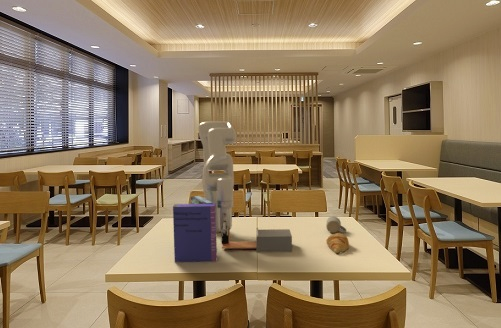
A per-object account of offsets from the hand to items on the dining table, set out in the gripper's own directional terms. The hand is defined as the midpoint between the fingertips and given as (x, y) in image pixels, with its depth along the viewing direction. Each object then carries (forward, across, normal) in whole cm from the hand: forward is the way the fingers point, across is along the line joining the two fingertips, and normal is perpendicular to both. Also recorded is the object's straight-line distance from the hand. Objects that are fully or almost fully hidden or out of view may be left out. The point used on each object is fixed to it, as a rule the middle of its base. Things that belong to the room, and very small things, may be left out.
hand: (225, 241), depth 173 cm
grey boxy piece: (+3, 0, -22) cm, 23 cm away
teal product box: (+4, +2, +12) cm, 12 cm away
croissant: (+4, 0, -52) cm, 52 cm away
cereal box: (+3, -16, +12) cm, 20 cm away
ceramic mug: (+4, +26, -57) cm, 63 cm away
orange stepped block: (+2, 0, -6) cm, 7 cm away
